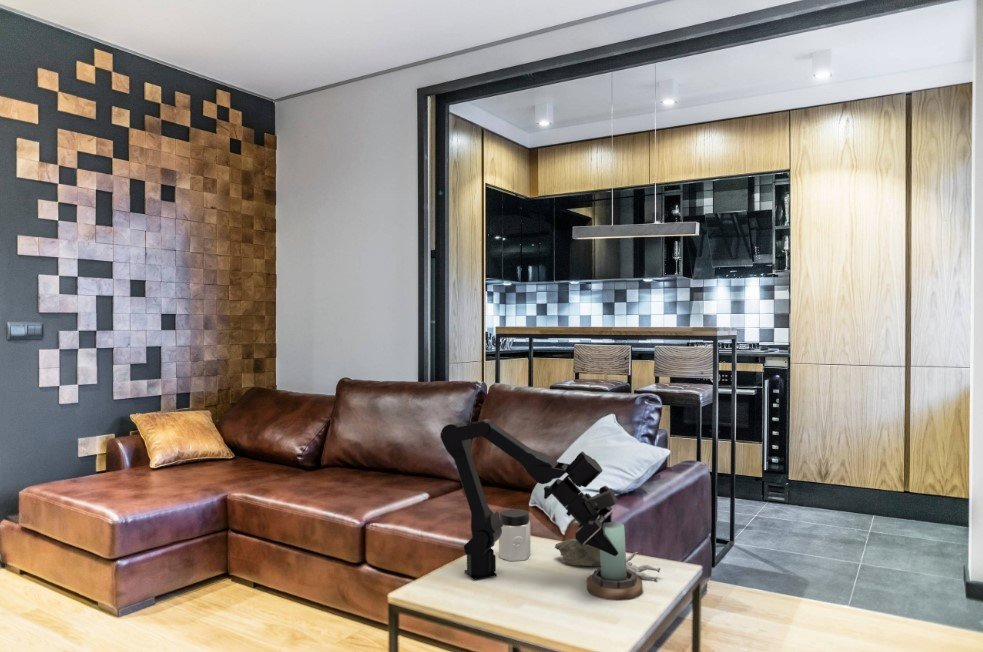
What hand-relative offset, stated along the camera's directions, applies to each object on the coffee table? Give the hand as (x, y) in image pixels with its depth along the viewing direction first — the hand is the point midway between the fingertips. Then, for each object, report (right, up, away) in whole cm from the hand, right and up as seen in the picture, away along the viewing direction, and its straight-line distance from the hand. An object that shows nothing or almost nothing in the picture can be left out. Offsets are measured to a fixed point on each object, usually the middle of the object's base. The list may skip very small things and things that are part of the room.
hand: (619, 549), depth 158 cm
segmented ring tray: (-1, -10, 0) cm, 10 cm away
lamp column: (-1, -7, 0) cm, 7 cm away
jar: (-24, -11, +25) cm, 36 cm away
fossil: (-6, -10, +19) cm, 23 cm away
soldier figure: (+6, -10, +9) cm, 14 cm away
